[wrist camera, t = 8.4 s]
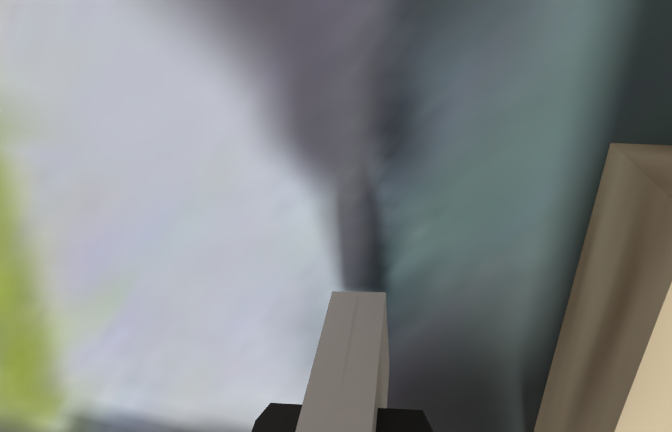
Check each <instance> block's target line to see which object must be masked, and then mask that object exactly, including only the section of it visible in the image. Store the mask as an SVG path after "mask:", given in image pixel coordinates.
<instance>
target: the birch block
mask: <svg viewBox="0 0 672 432" xmlns="http://www.w3.org/2000/svg"><path fill="white" fill-rule="evenodd" d="M534 432H672V145H651V144H625V143H610V147H609V151H608V154H607V158H606V162H605V166H604V169H603V173H602V177H601V181H600V184H599V188H598V192H597V196H596V199H595V203H594V207H593V211H592V214H591V218H590V222H589V226H588V229H587V233H586V237H585V241H584V244H583V248H582V252H581V256H580V259H579V263H578V267H577V271H576V274H575V278H574V282H573V286H572V289H571V293H570V297H569V301H568V304H567V308H566V312H565V316H564V319H563V323H562V327H561V331H560V334H559V338H558V342H557V346H556V349H555V353H554V357H553V361H552V364H551V368H550V372H549V376H548V379H547V383H546V387H545V391H544V394H543V398H542V402H541V406H540V409H539V413H538V417H537V421H536V424H535V428H534Z"/></svg>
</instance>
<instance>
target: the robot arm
mask: <svg viewBox="0 0 672 432" xmlns="http://www.w3.org/2000/svg"><path fill="white" fill-rule="evenodd" d="M389 368H390V364H389V346H388V328H387V310H386V292H332V295H331V299H330V303H329V306H328V310H327V314H326V318H325V321H324V325H323V329H322V333H321V337H320V340H319V344H318V348H317V352H316V355H315V359H314V363H313V367H312V370H311V374H310V378H309V382H308V386H307V389H306V393H305V397H304V401H303V404H302V405H297V404H279V403H270V404H269V405H268V407H267V408H266V409H265V410H264V411H263V413H262V414H261V415H260V416H259V417H258V418H257V420H256V421H255V424H254V426H253V429H252V432H433V431H432V429H431V427H430V425H429V423H428V421H427V419H426V417H425V414H424V412H423V410H407V409H390V408H387V397H388V383H389Z"/></svg>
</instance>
